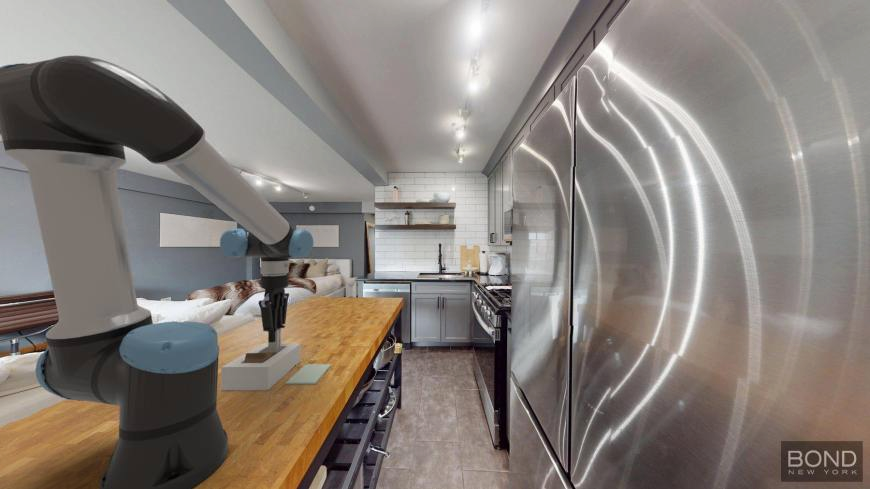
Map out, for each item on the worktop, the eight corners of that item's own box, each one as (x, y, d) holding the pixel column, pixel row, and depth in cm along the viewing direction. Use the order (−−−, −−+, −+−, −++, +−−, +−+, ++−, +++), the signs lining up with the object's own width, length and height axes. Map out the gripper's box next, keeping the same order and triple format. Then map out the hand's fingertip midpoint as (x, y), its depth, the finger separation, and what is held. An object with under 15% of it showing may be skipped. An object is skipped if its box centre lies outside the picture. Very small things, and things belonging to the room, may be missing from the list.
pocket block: (268, 390, 72) (268, 366, 72) (221, 390, 71) (221, 367, 71) (300, 362, 90) (300, 343, 90) (262, 362, 89) (263, 343, 89)
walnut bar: (262, 363, 75) (264, 353, 76) (243, 363, 75) (246, 353, 76) (284, 361, 86) (285, 352, 87) (267, 361, 86) (269, 352, 87)
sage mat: (315, 384, 75) (315, 382, 75) (285, 384, 75) (285, 382, 75) (331, 365, 87) (331, 364, 87) (305, 365, 87) (305, 364, 87)
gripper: (275, 277, 78) (274, 360, 78) (297, 272, 92) (297, 342, 92) (248, 277, 78) (247, 360, 78) (275, 272, 92) (274, 342, 92)
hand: (274, 350), depth 85 cm, fingers closed
